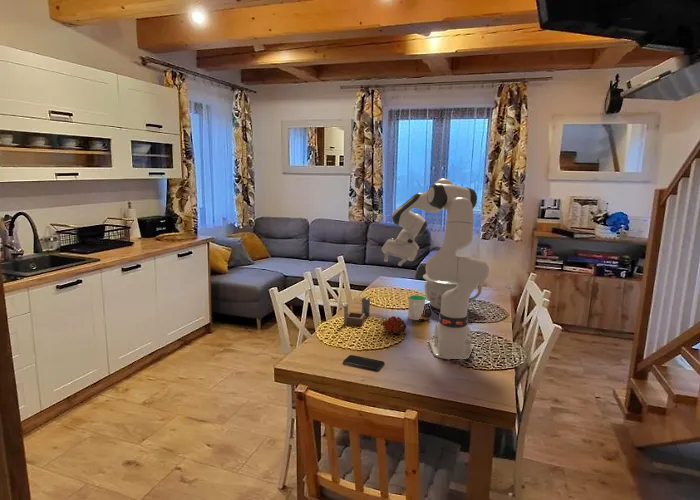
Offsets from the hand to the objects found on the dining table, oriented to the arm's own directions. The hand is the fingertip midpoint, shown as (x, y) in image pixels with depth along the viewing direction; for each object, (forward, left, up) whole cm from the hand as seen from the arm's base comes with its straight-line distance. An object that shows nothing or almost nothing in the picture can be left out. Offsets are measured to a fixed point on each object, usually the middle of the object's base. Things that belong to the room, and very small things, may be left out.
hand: (392, 263), depth 238 cm
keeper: (-27, +14, -25) cm, 39 cm away
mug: (-12, -15, -25) cm, 31 cm away
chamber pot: (+11, -30, -25) cm, 40 cm away
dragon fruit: (-35, -7, -25) cm, 44 cm away
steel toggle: (-15, +10, -25) cm, 31 cm away
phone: (-70, +1, -25) cm, 75 cm away
